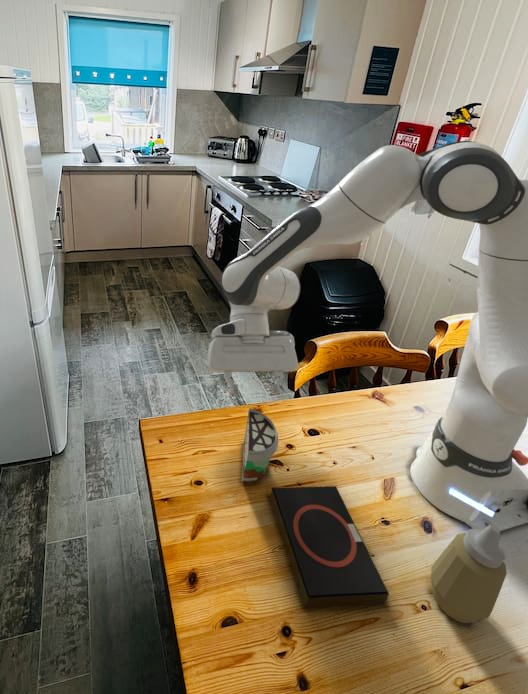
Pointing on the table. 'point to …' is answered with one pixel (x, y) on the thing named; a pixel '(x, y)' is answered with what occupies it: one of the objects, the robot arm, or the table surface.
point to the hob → (326, 549)
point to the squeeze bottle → (470, 575)
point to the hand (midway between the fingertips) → (254, 393)
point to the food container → (258, 446)
